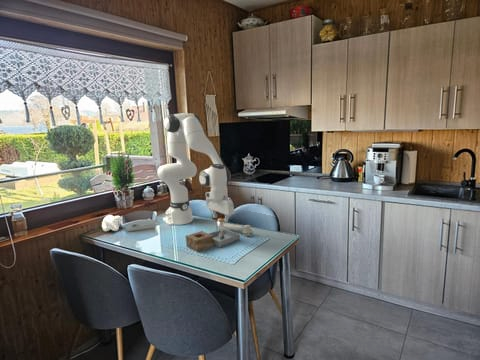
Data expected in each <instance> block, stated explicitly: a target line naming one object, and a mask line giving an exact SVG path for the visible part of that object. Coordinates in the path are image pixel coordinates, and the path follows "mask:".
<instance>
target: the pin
mask: <svg viewBox="0 0 480 360" xmlns="http://www.w3.org/2000/svg"><path fill="white" fill-rule="evenodd" d="M217 223H218V229H217V230H218V236H219V240H223V239H225V238H224V223H225V222H224V218H222V217H220V218H217Z"/></svg>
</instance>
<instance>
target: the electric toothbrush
mask: <svg viewBox="0 0 480 360" xmlns="http://www.w3.org/2000/svg"><path fill="white" fill-rule="evenodd" d="M216 229H217V230H218V222H217V223H216ZM224 229H227V230H229V231H237V232H238V231H239V232H241V233H242V234H243V236H244V237H245V238H247V237H252V236H253V232H254V229H252V227H251V225H250V224H245V225H243V224H242V225H241V224H234V223H233V224H232V223H228V222H224Z"/></svg>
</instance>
